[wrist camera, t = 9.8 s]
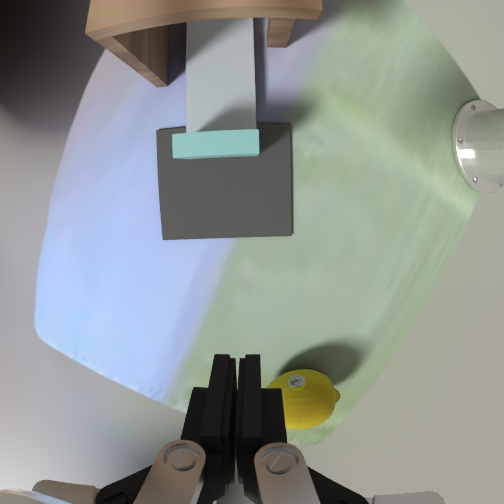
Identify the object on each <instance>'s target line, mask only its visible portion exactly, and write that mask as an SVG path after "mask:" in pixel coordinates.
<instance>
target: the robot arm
mask: <svg viewBox="0 0 504 504" xmlns="http://www.w3.org/2000/svg"><path fill="white" fill-rule="evenodd" d="M452 144H453V152H454V156H455V160H456V163H457V165H458V168H459V170H460V172H461V174H462V176H463V177H464V179H465V180H466V181H467V183H468V184H469V185H470V186H472V187H473V188H474V189H476V190H478V191H480V192H484V193H494V192H497V191H499V190H501V189H502V188H503V187H504V109H497V108H496V107H494V106H493V105H492V104H490V103H488V102H486V101H482V100H475V101H471V102H468V103H466V104H464V105H463V106H462V107H461V108H460V110H459V111H458V113H457V115H456V117H455V120H454V124H453V131H452ZM236 460H237V470H238V481H239V484H243V485H244V495H245V496H246V497H248V498H249V499H250V500H251V501H253V502H254V503H255V504H445V502H444V499H443V498H442V497H441V496H440V495H439V494H438V493H435V492H428V491H426V492H418V493H409V494H408V493H407V494H394V495H375V496H374V497H373V498H364V497H363V496H361V495H360V494H357V493H355V492H353V491H351V490H350V489H348V488H346V487H344V486H342V485H340V484H338V483H336V482H334V481H332V480H331V479H329V478H327V477H325V476H323V475H322V474H320V473H318V472H316V471H315V470H313V469H311V468H310V467H308V466H307V465H306V462H305V459H304V456H303V455H302V453H301V451H300V450H299V449H298V448H296V447H295V446H293V445H291V444H288V443H287V435H286V425H285V416H284V406H283V397H282V389H281V388H261V368H260V354H249V355H246V356H245V358H240V362H239V376H238V390H237V378H236V360H235V358H230V355H229V354H215V355H214V360H213V365H212V371H211V376H210V381H209V386H208V388H204V387H194V388H193V390H192V394H191V398H190V402H189V406H188V410H187V414H186V418H185V422H184V427H183V431H182V435H181V439H180V440H176V441H173V442H170V443H168V444H166V445H165V446H163V448H162V449H161V450H160V452H159V454H158V456H157V458H156V460H155V462H154V464H153V465H151V466H149V467H147V468H145V469H143V470H141V471H138V472H136V473H134V474H132V475H130V476H128V477H125V478H124V479H121V480H119V481H116V482H114V483H112V484H110V485H107V486H106V487H104V488H102V489H98V488H96V487H95V486H89V485H80V484H72V483H65V482H58V481H52V480H42V481H40V482H37V483H36V484H35V485H34V487H33V489H32V491H28V490H21V489H3V490H0V504H216V500H217V499H219V498H220V497H222V496H223V495H225V491H228V484H234V479H235V478H234V477H235V462H236Z"/></svg>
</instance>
